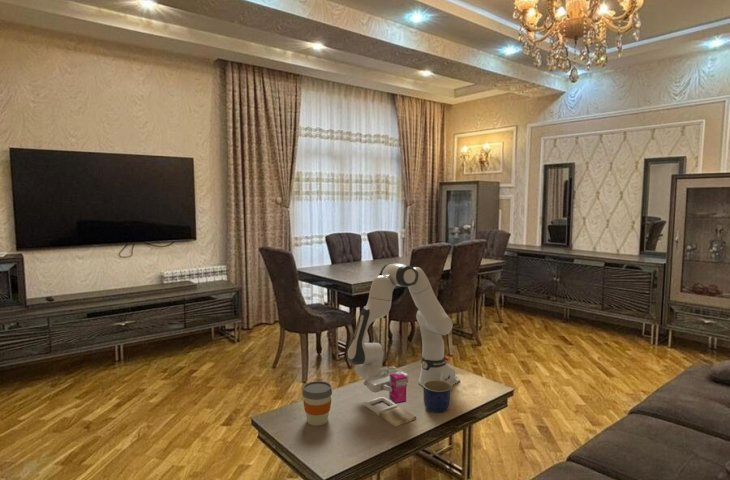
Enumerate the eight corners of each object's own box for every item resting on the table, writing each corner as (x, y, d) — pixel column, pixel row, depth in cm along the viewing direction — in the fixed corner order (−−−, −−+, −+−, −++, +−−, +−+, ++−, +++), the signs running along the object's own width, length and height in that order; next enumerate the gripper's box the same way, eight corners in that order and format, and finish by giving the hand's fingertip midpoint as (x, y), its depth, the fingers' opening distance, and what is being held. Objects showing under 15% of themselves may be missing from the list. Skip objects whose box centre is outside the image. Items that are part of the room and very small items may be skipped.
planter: (455, 412, 200) (456, 388, 199) (431, 417, 195) (432, 393, 194) (441, 400, 211) (441, 378, 210) (418, 404, 207) (418, 382, 206)
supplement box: (388, 398, 196) (389, 373, 195) (400, 396, 198) (401, 371, 197) (394, 404, 190) (395, 378, 189) (406, 402, 193) (407, 376, 192)
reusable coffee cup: (337, 417, 194) (337, 384, 193) (320, 430, 183) (320, 395, 182) (314, 410, 201) (314, 378, 199) (296, 422, 190) (296, 389, 188)
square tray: (382, 399, 212) (382, 396, 212) (397, 408, 203) (397, 405, 203) (364, 405, 206) (364, 402, 206) (378, 414, 197) (378, 411, 197)
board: (399, 408, 203) (399, 406, 203) (416, 418, 194) (416, 416, 194) (379, 416, 196) (379, 413, 196) (395, 426, 187) (395, 424, 187)
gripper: (361, 375, 198) (380, 386, 187) (396, 365, 210) (416, 375, 199) (361, 389, 198) (380, 400, 187) (396, 378, 210) (416, 388, 199)
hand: (399, 387), depth 193 cm, fingers closed on supplement box, 6 cm apart
